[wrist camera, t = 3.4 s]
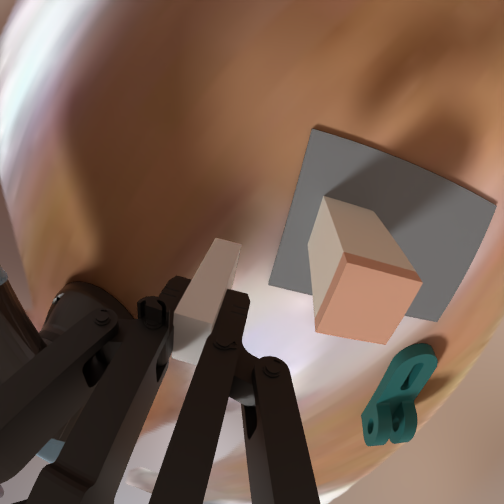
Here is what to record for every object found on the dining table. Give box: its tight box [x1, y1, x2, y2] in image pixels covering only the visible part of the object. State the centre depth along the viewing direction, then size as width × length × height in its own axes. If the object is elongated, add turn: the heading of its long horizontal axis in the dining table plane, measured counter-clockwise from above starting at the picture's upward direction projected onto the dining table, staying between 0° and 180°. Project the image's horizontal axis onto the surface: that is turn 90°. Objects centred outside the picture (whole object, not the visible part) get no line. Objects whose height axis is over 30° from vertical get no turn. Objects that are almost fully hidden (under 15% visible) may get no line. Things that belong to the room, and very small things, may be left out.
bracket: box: [361, 343, 438, 446], centre depth 33 cm, size 18×7×8 cm, turn 179°
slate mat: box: [268, 129, 497, 322], centre depth 26 cm, size 22×16×1 cm
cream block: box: [308, 196, 423, 345], centre depth 21 cm, size 5×5×12 cm
